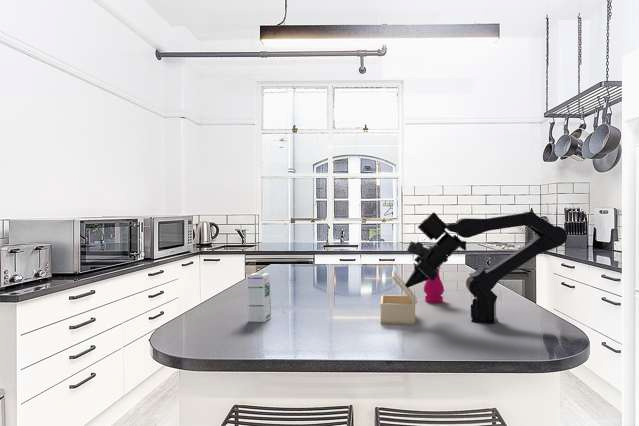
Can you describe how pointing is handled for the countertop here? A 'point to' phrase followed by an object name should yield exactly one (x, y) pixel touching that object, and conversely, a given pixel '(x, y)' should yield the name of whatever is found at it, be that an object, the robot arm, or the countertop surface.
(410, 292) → the lid
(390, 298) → the carton
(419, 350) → the countertop surface
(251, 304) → the syrup box
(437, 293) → the pepper mill
